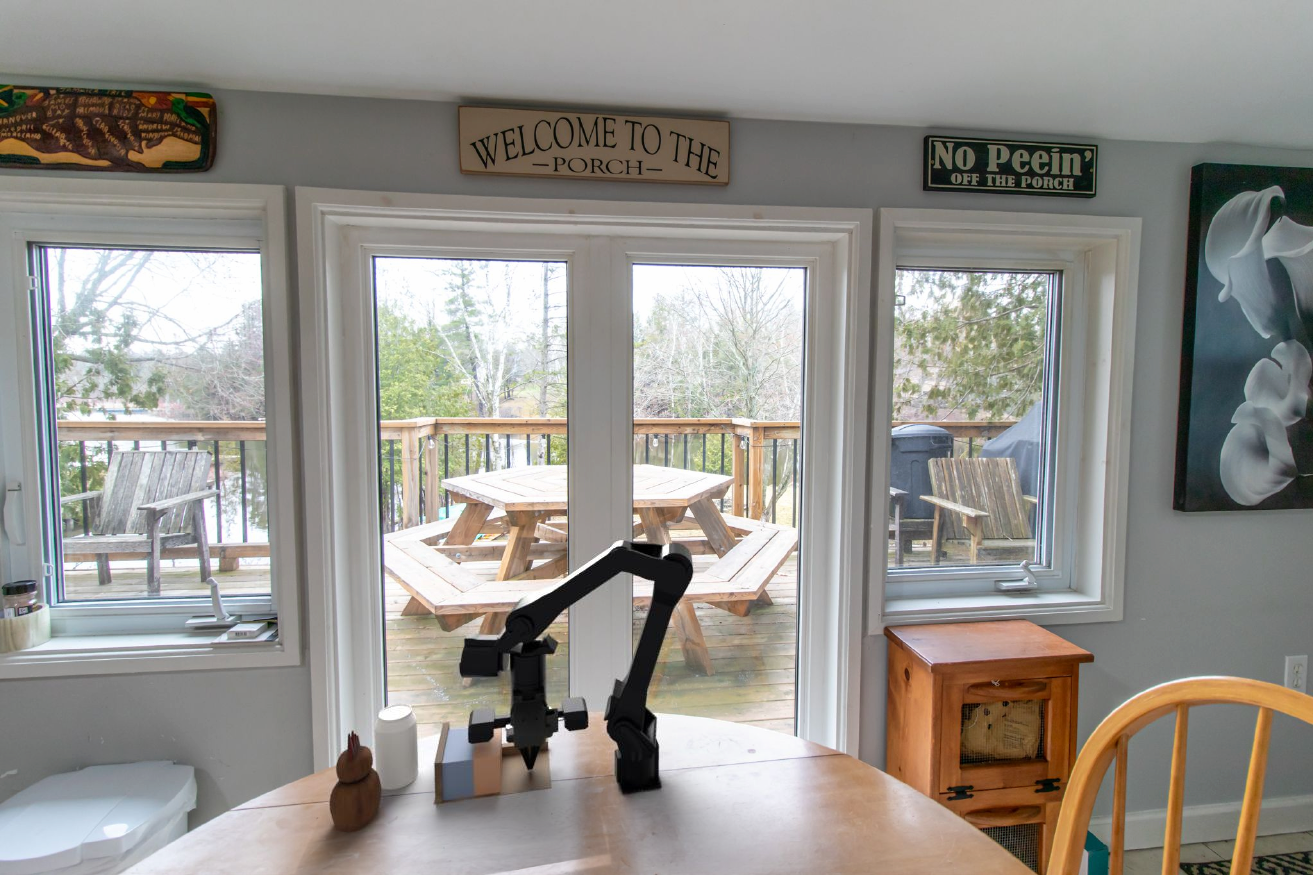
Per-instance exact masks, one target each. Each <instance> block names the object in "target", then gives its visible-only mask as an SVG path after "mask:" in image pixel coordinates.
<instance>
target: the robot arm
mask: <svg viewBox="0 0 1313 875" xmlns="http://www.w3.org/2000/svg"><path fill="white" fill-rule="evenodd" d="M620 573H627V574H631V575H633V576H636V577H639V578H642V579H644V580H646V581H651V582H653V587H652V588H653V589H652V595H651V596H652V597H651V600H650V601H649V605H648V609H647V612H646V616H645V618H644V621H643V624H642V627H641V631H640V634H639V636H638V639H637V643H636V647H635V650H634V653H633V656H632V658H631V663H630V665H629V669H628V672H627V674H626V675H625V677H624V679H623V680H620V679H617V678H614V680H613V686H612V690H611V694H610V695H609V697H608V698H607V701H606V702H607V703H606V706H605V711H604V716H603V721H604V722H606V721H607V723H606V734H608V736H609V738H610V739H611V740H612V741H613V742H615V743H616V745H617V749H615V750H614V776H615V781H616V783H617V784H619V789H620V792H621V794H631V793H632V794H633V793H637V792H645V791H651V790H652V791H653V790H658V789H659V790H660V789H661V788H662V786H663V784H662V782H661V778H660V744H659V741H658V739H657V728H658V727H657V725H658V722H657V721H658V718H657V716H656V715H655V714H654V712H652V711H651V710H650V709H649V708H648V707H647V699H648V691H649V686H650V684H651V680H652V677H653V676H654V675H653V674H654V671H655V667H656V666H657V663H658V658H659V656H660V652H661V650H662V646H663V643H664V640H665V637H666V634H667V630H668V627H669V624H670V621H671V618H672V616H673V612H674V609H675V608H676V606H677V605H678V603H679V602H680V601H681V600H682V598H683V596H684V594H685V592H686V591H687V589H688V588H689V585H690V584H691V582H692V579H693V576H694V564H693V556H692V553H691V551H690V549H689V548H688V547H687V546H685V545H684V544H682V543H679V542H668V543H667V544H661V543H660V544H659V543H654V542H634V541H629V540H624V539H621V540H617V541H615V542H614V543H613V544H612V545H611V546H610V547H609V548H608V549H606V550H605V551H603V552H601V553H600V554H599V555H596V557H594V558H593V559H592V560H590V561H588V562H587V563H586V564H584V565H583V566H580V567H579V568H578V569H577V570H575V571H574V572H572V573H570V574H569V575H568V576H566V577H565V578H563V579H562V580H560V581H558V582H557V583H556V584H554V585H552V586H549V587H546V588H542V589H539V590H536V591H534V592H532V593H530V594H527V595H525V596H523V597H522V598H520V599H519V600H518V601H517V602H516V604H515V605H514V606H513V608H512V609H511V610H510V612H509V613H508V614H507V616H506V618H505V622H504V627H503V628H502V630H501V631H500V633H499V634H480V633H468V634H467V635H466V636H465V638H464V639H463V641H464V642H463V647H462V652H461V655H460V661H459V663H458V664H459V666H458V668H459V675H460V677H461V678H462V679H499V678H500V677H501V674H502V673H506V672H507V671H508V668H509V677H510V678H509V686H510V688H509V690H510V691H509V692H510V709H509V713H505V714H498V715H496V707H495V706H491V707H483V708H482V707H481V708H474V709H472V710H471V712H470V714H469V718H468V725H467V728H468V743H470V744H476V743H484V742H489V741H490V740H491V739H492V738H493V737H494V729H498V728H502V729H505V730H504V731H505V732H506V733H505V734H506V735H505V736H506V737H505V741H506V743H514V746H515V747H516V748H518V749H519V750H520V752H521V755H522V757H523V760H524V762H525V765H526V767H527V769H528V770H532V769H533V767H534V764H535V761H536V758H537V755H538V752H539V749H540V747H541V746H542V745H543V744H545V742H546V738H548V739H549V738H552V737H554V734H555V733H559V722H563V726H564V729H566V730H567V731H568V732H574V731H575V732H576V731H581V730H582V731H583V730H587V729H588V728H589V711H588V707H587V706H588V705H587V702H586V699H585V698H584V696H576V697H575V696H574V697H568V698H567V697H566V698H561V707H554V708H553V707H551V706H548V705H549V704H548V701H547V700H548V699H547V697H548V694H547V692H548V691H547V655H554V654H555V653H556V650H557V648H558V646H559V641H558V640H556V639H555V638H554V637H552V636H551V635H550V634H549V633H546V634H545V635H544V636H543V637H541V638H539V637H540V636H541V635H542V634H543V633H544V632H545V631H546V630H547V629H548V628H549V627H550V626H551V625H552V624H553V622H554V621H555V620H556V619H557V618H558V617H559V616H560V615H561V614H562V613H563V612H564V611H565V610H567V609H568V608H570V607H571V606H573V605H574V604H575V603H577V602H578V601H580V600H582V599H583V598H584V597H586V596H587V595H589V594H591V593H592V592H593V591H595V590H597V589H598V588H600V587H601V586H603V585H604V584H606V583H607V582H609V581H610V580H611V579H613V578H614V577H616V576H617V575H619V574H620ZM529 746H531V750H530V753H529Z"/></svg>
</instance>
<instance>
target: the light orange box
mask: <svg viewBox="0 0 1313 875" xmlns="http://www.w3.org/2000/svg"><path fill="white" fill-rule="evenodd" d="M502 730H503V728H498V729H494V737H493V738H492V739H491V740H490V741H489V742H484V743H476V744H475V746H474V754H473V783H474V796H476V795H484V794H491V793H498V792H501V771H502V744H503V742H502V741H503V740H502V738H503V736H502V733H503V732H502Z"/></svg>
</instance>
